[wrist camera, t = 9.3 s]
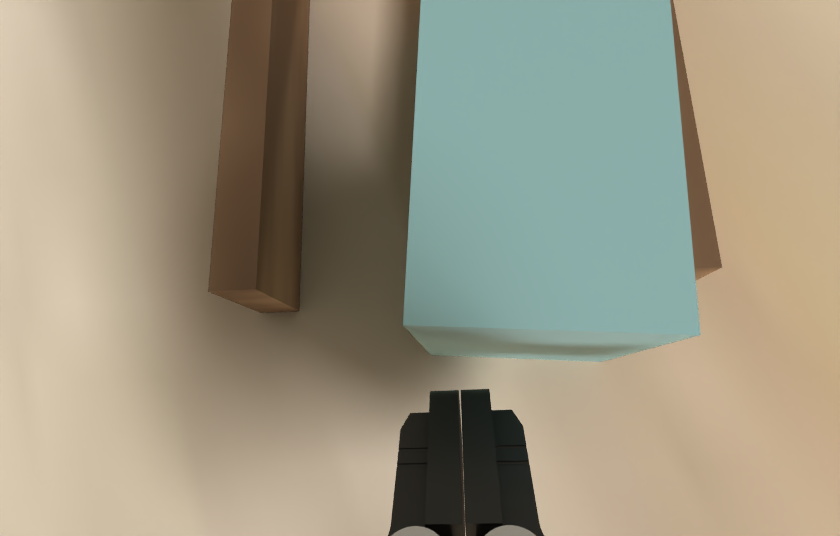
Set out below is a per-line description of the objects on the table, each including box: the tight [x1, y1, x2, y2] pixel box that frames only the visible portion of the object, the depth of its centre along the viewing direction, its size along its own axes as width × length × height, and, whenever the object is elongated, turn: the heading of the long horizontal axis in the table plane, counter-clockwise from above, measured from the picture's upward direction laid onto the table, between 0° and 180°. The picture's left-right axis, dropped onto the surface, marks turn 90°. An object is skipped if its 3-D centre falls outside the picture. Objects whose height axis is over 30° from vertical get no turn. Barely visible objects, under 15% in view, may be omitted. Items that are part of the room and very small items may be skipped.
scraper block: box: [403, 0, 700, 362], centre depth 16 cm, size 6×14×8 cm, turn 177°
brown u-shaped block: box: [208, 0, 722, 313], centre depth 19 cm, size 15×20×4 cm
